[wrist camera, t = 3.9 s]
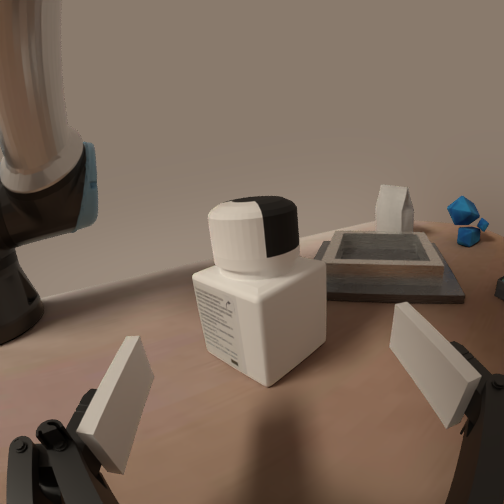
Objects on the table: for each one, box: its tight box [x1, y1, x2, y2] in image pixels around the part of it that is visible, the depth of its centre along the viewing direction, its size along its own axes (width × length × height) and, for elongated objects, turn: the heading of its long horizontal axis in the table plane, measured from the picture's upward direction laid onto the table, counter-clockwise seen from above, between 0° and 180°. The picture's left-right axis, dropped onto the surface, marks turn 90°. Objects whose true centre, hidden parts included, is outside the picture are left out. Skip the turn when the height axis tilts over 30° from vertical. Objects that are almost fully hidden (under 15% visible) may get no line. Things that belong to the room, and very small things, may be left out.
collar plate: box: [314, 231, 465, 304], centre depth 38 cm, size 20×20×4 cm
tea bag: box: [375, 185, 414, 232], centre depth 50 cm, size 4×7×10 cm, turn 21°
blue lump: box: [447, 196, 489, 247], centre depth 42 cm, size 7×9×12 cm
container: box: [192, 196, 326, 387], centre depth 23 cm, size 8×8×13 cm
